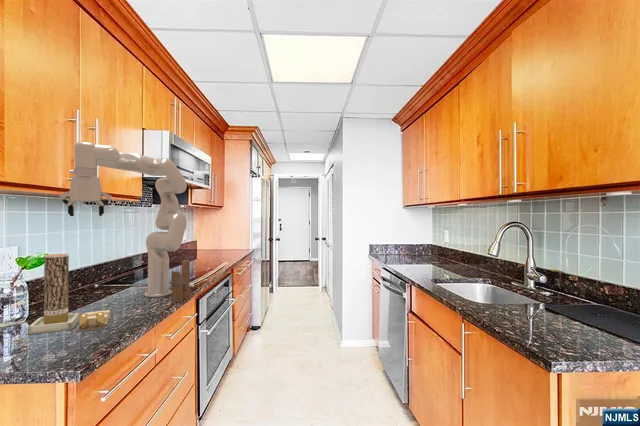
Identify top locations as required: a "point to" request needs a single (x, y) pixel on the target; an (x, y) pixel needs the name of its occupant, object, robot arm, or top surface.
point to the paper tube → (56, 288)
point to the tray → (53, 325)
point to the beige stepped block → (92, 317)
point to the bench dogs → (98, 326)
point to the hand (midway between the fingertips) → (86, 215)
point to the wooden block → (181, 283)
